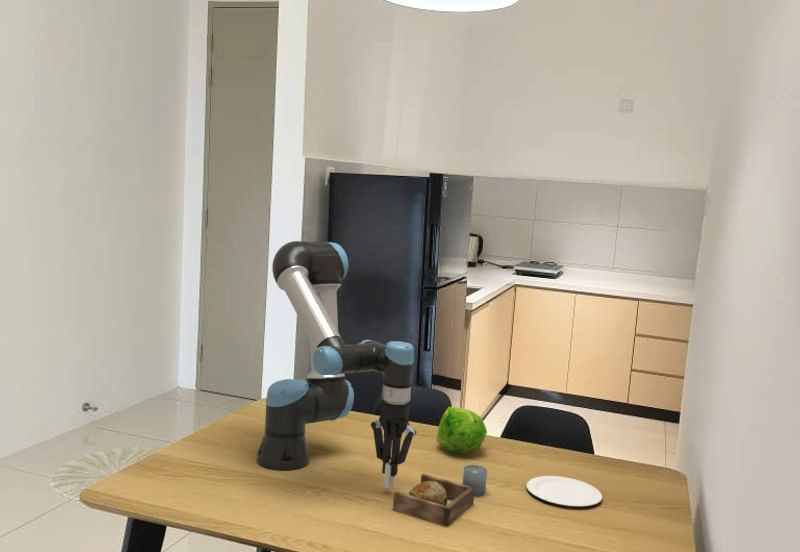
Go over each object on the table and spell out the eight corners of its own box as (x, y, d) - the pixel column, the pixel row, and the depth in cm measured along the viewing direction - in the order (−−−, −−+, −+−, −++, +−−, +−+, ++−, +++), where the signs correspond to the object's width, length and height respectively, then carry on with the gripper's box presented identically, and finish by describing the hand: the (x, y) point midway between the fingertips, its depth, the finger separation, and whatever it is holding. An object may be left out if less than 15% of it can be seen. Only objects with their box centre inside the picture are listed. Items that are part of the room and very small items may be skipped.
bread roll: (438, 528, 181) (454, 502, 181) (403, 507, 182) (419, 481, 181) (439, 511, 191) (454, 487, 190) (405, 492, 191) (420, 467, 191)
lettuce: (469, 440, 242) (484, 404, 239) (479, 470, 223) (495, 432, 220) (429, 427, 240) (443, 392, 237) (434, 457, 221) (450, 419, 218)
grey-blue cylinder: (458, 492, 196) (460, 469, 195) (467, 485, 201) (469, 463, 201) (479, 498, 193) (481, 475, 192) (488, 491, 198) (490, 468, 198)
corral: (392, 509, 182) (394, 492, 181) (422, 489, 196) (423, 473, 195) (447, 526, 174) (448, 508, 174) (473, 504, 189) (474, 487, 188)
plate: (603, 489, 207) (604, 484, 207) (599, 517, 187) (600, 511, 187) (531, 475, 214) (532, 470, 213) (520, 501, 194) (520, 495, 194)
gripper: (367, 398, 189) (360, 484, 191) (410, 409, 183) (403, 497, 185) (381, 392, 196) (374, 475, 198) (424, 402, 189) (416, 488, 192)
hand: (388, 486), depth 192 cm, fingers closed
